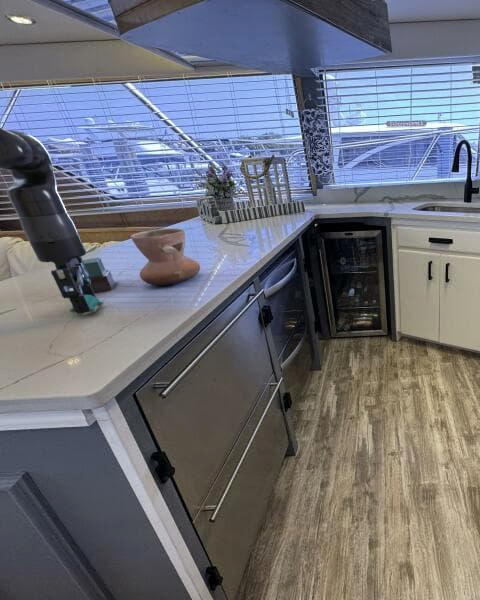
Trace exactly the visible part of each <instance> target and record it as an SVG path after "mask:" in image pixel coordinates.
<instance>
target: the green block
mask: <svg viewBox="0 0 480 600" xmlns="http://www.w3.org/2000/svg"><path fill="white" fill-rule="evenodd" d="M82 260H83V262H84V265H85V267H86V269H87V271H88V273H89V275H90V276H91V278H93V277H99V276H103V275H104V273H105V272H106V270H107V269H106V268H105V266H104V263H103V260H102V259H101V257H94V258H88V259H82Z"/></svg>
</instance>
